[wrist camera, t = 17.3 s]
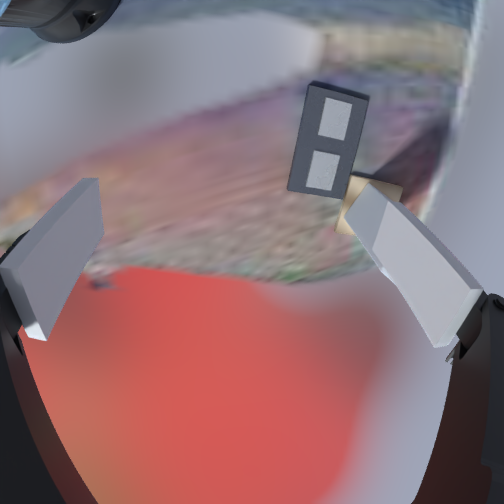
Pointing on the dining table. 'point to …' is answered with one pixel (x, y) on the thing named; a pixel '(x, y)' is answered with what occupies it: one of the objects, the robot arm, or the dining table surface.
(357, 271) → the dining table surface
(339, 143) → the label panel
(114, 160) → the dining table surface
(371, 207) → the milk carton
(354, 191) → the coaster
